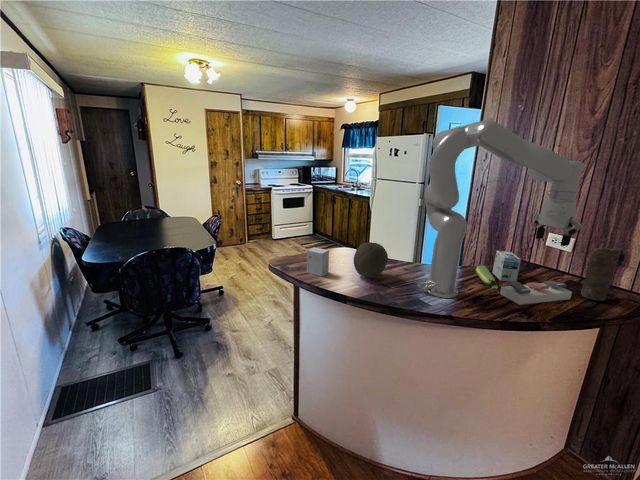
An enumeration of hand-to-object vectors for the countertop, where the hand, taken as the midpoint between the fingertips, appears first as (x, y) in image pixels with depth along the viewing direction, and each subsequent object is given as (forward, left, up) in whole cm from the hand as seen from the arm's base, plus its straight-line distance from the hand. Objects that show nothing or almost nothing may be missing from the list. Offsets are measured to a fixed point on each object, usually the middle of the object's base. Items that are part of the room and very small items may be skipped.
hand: (551, 241), depth 115 cm
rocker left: (-12, -1, -17) cm, 21 cm away
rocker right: (+5, -1, -17) cm, 18 cm away
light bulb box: (+1, +18, -22) cm, 28 cm away
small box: (-80, +37, -22) cm, 91 cm away
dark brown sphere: (-59, +29, -22) cm, 69 cm away
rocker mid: (-3, -1, -17) cm, 17 cm away
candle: (+18, -7, -22) cm, 29 cm away
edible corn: (-11, +16, -22) cm, 29 cm away
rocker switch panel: (-3, -1, -22) cm, 22 cm away
